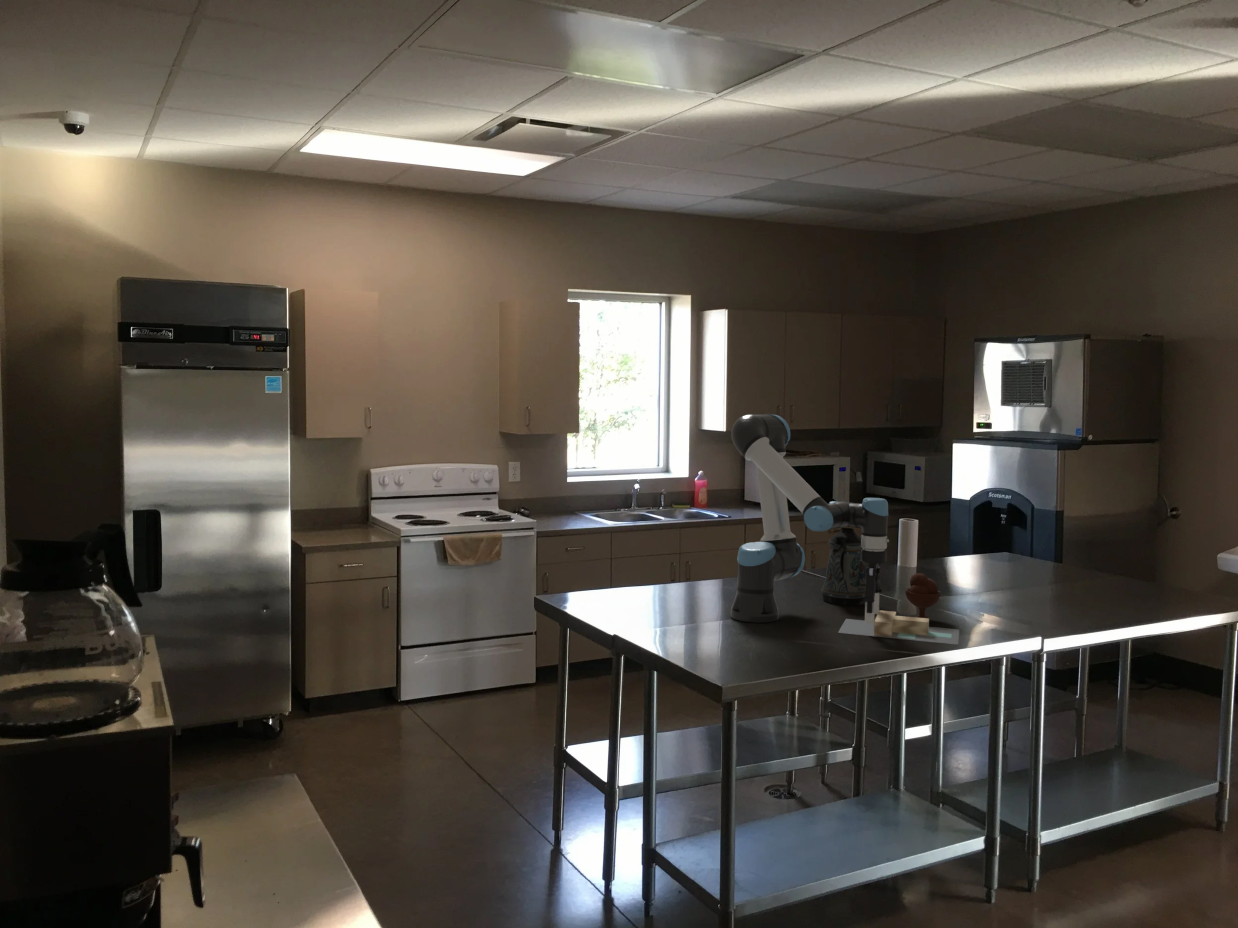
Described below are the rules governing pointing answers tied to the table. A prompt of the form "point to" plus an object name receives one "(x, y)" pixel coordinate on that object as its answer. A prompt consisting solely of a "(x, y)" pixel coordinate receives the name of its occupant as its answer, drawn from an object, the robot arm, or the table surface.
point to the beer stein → (845, 570)
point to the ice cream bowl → (922, 593)
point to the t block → (899, 624)
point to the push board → (933, 635)
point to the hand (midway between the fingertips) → (871, 618)
